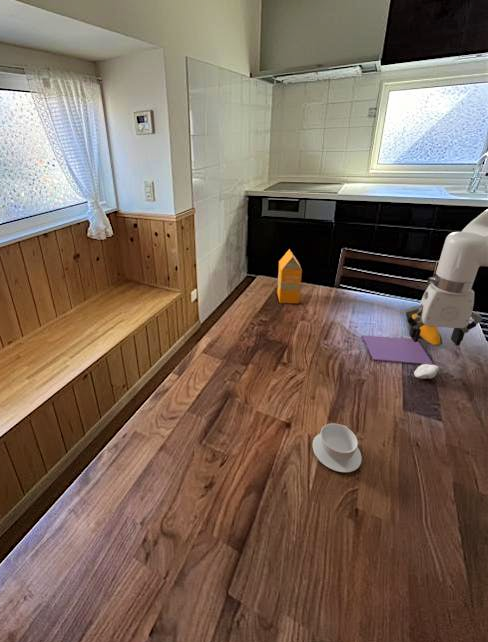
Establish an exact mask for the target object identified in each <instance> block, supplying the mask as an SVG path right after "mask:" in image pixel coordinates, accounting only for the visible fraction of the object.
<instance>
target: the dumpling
mask: <svg viewBox="0 0 488 642" xmlns="http://www.w3.org/2000/svg"><path fill="white" fill-rule="evenodd" d="M439 370H440V367H439V366H438V365H435V364H433V365H430V364H419V366H417V368H416V369H415V370H414V371H413V375H414V377H415V378H417V379H422V380H425V379H429V380H430V379H433V378H435V377H436V376H437V374H438V371H439Z"/></svg>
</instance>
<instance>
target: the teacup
mask: <svg viewBox="0 0 488 642" xmlns="http://www.w3.org/2000/svg"><path fill="white" fill-rule="evenodd" d="M358 445H359V442H358V438H357V436H356V435H355V433H354V432H353V431H352V430H351V429H350V428H348V426H346V425H343V424H339V423H327V424H325V425H324V426H323V427H322V428H321V430H320V433H317V435H316V436H315V437H314V438H313V440H312V451H313V453H314V455H315V456H316V459H318V461H319V462H320V463H321V464H323V465H324V466H325V467H327V468H328V469H330V470H333V471H335V472H340V473H351V472H354V471H356V470H357V469H358V468H359V467H360V466H361V464H362V460H363V459H362V458H363V457H362V454H361V453H362V452H361V451H360V448H359V447H358Z"/></svg>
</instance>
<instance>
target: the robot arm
mask: <svg viewBox="0 0 488 642" xmlns="http://www.w3.org/2000/svg"><path fill="white" fill-rule="evenodd" d="M480 267H488V208H487V209H486V210H484V211H483V212H481V213H480V214H479V215H477V217H475V218H474V219H472V220H471V221H470V222H469V223H468V224H467V225H466V226H465V227H464V228H463V229H462V230H461V231H454V232H451V233H449V234H448V235H447V236H446V237H445V240H444V244H443V247H442V250H441V254H440V258H439V260H438V264H437V268H436V271H435V273H433V276H431V277H430V276H429V277H427V283H429V285H428V286H427V287H426V290H425V291H424V293H423V295H422V298H421V300H420V303H419V305H416V307H415V306H412V307H413V308H412V307H409V308H406V309H404V310H403V314H404V317H405V319H406V320H408V321H407V323H408V322H409V323H410V324H411V327H410V330H409V337H410V339H413V341H414V342H419V339H420V338H419V335H420V332H421V329H420V327H422V326H423V325H428V326H436V327H437V328H450V329H453V330H452V333H451V336H450V340H451V341H452V343H453V344H454V345H455V346H457V347H460V345H461V342H463V340H464V337H465V334H467V333H469V332H470V330H471V329H472V330H473V328H476V327H477V325H478V324H479V323H480V322H482V321H483V320H484V317H483V316H481V315H480V314H479V313H477V312H475V311H473V309H474V304H475V291H474V290H473V285H474V282H475V280H476V277H477V273H478V270H479V268H480ZM416 313H417V315H418V316H417V317H415V318H414V319H413V318H412V315H413V314H416ZM420 320H421V321H420ZM417 322H418V323H417ZM409 323H408V324H409Z"/></svg>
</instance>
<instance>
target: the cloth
mask: <svg viewBox="0 0 488 642" xmlns="http://www.w3.org/2000/svg"><path fill="white" fill-rule="evenodd" d="M362 338H363V339H364V342H365V345H366V347H367V350H368V352H369V354H370V356H371V359H372V361H378V362H379V361H380V362H381V361H382V362H390V363H391V362H392V363H393V362H394V363H402V364H403V363H404V364H412V365H413V364H414V365H422V364H430V365H434V363H433V361H432V359H431V357H429V356H428V354H427V352H426V351H425V349H424V348H423V346H422V345H421V343H420V341H418V342H414V341H413V339H412V338H398V337H396V338H395V337H384V336H371V335H363V336H362Z"/></svg>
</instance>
